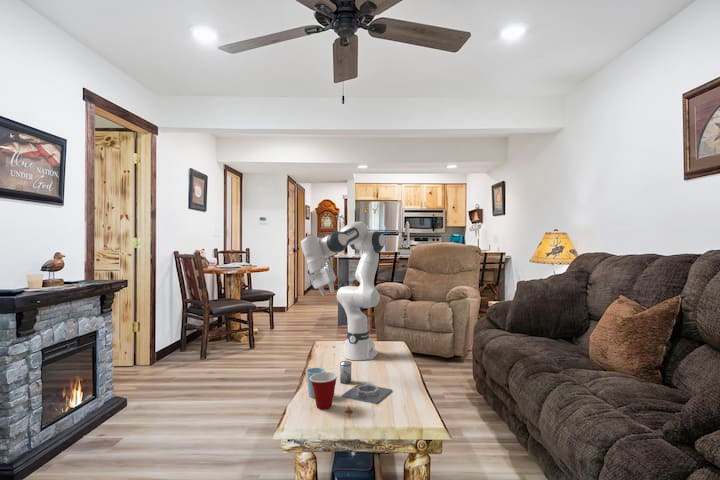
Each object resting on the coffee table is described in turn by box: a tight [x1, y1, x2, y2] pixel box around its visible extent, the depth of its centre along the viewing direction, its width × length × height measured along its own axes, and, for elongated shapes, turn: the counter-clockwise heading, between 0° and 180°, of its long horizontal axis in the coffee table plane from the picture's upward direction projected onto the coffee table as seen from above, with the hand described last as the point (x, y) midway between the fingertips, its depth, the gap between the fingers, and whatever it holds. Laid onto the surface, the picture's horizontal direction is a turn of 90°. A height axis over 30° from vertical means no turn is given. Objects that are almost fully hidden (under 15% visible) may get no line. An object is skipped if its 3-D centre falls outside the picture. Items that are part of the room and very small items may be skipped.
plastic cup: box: [310, 371, 339, 411], centre depth 155 cm, size 11×11×12 cm
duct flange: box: [341, 383, 393, 405], centre depth 169 cm, size 16×16×2 cm
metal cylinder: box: [339, 360, 352, 385], centre depth 183 cm, size 5×5×9 cm
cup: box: [305, 367, 326, 399], centre depth 166 cm, size 8×8×10 cm
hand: (328, 294), depth 191 cm, fingers open, 8 cm apart
